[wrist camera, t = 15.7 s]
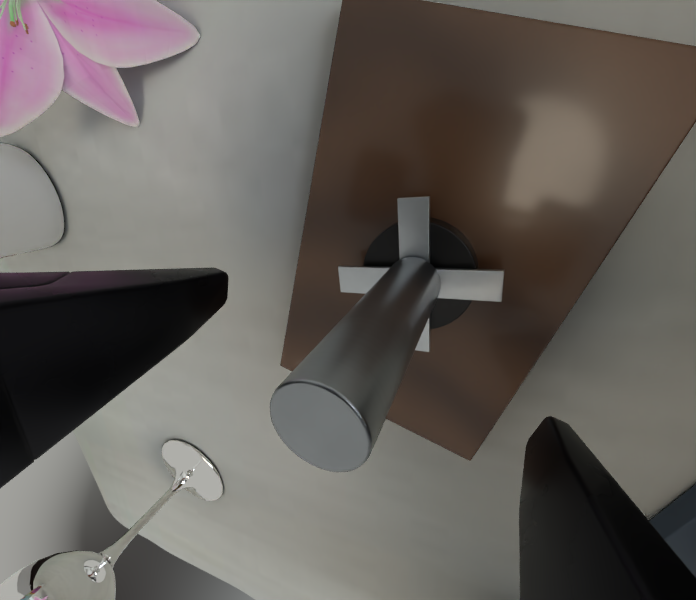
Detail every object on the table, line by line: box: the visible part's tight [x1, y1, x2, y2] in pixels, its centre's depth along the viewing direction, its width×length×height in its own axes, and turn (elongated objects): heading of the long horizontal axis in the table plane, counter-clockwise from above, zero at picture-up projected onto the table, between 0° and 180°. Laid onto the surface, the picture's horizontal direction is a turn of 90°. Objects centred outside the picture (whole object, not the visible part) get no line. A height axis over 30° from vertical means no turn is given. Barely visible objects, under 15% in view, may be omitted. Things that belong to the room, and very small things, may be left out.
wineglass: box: [0, 440, 223, 600], centre depth 24 cm, size 8×8×20 cm
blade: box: [270, 196, 504, 472], centre depth 11 cm, size 7×7×10 cm
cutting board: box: [280, 0, 696, 461], centre depth 15 cm, size 18×12×1 cm, turn 166°
